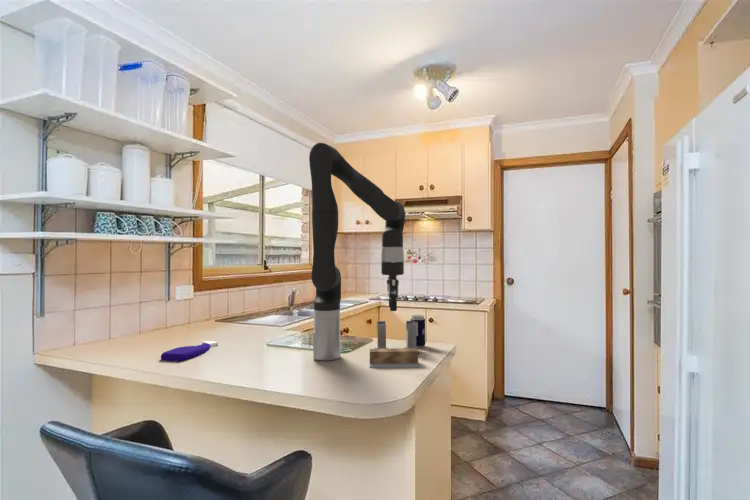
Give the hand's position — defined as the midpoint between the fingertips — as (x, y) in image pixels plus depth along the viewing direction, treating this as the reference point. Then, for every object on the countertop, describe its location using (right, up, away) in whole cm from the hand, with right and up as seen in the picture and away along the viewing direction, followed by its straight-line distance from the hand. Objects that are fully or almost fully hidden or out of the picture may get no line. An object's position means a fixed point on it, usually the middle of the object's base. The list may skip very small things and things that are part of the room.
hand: (392, 308), depth 135 cm
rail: (0, -18, 0) cm, 18 cm away
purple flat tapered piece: (-75, -20, +18) cm, 80 cm away
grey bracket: (+8, -18, +15) cm, 25 cm away
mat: (0, -18, 0) cm, 18 cm away
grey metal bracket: (-3, -18, +15) cm, 24 cm away
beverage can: (+11, -18, +23) cm, 31 cm away
